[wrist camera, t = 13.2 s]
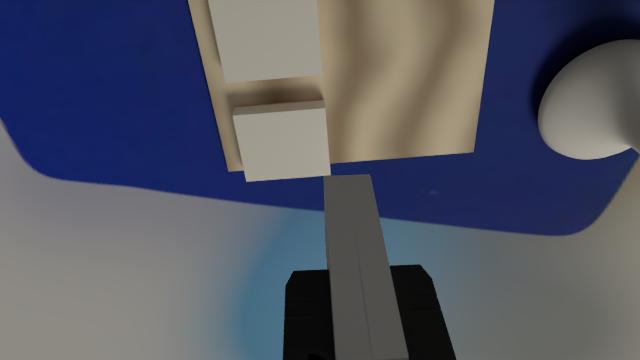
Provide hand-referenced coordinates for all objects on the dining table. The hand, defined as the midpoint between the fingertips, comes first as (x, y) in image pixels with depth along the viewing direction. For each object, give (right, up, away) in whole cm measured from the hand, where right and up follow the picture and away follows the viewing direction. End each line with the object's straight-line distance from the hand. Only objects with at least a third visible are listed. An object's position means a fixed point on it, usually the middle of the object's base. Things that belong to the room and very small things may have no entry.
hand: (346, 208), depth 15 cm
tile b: (0, +5, +26) cm, 27 cm away
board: (+1, +10, +25) cm, 27 cm away
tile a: (-1, +13, +21) cm, 24 cm away
